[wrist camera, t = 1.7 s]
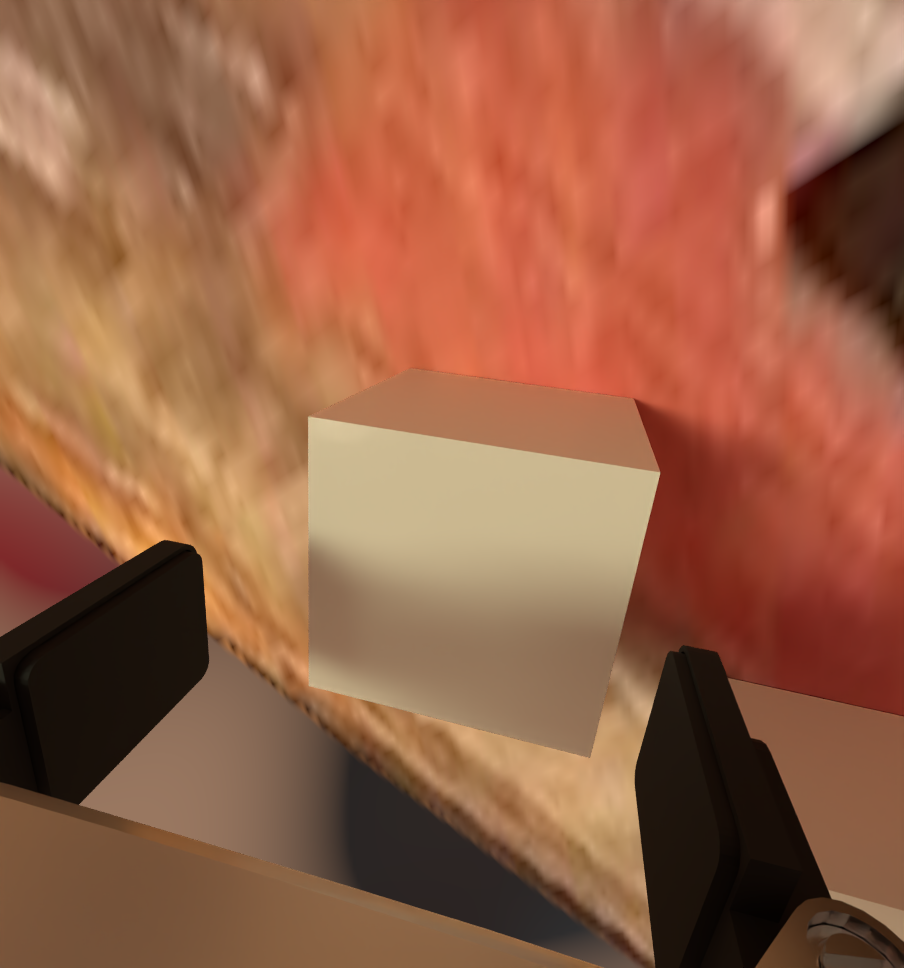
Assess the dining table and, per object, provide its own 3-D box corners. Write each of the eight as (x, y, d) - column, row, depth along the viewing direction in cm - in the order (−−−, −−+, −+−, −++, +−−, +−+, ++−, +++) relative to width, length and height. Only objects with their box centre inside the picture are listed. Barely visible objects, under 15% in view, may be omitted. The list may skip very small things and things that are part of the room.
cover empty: (925, 721, 18) (1114, 969, 11) (848, 867, 20) (967, 1138, 14) (697, 671, 19) (751, 868, 13) (651, 814, 22) (677, 1039, 15)
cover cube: (633, 398, 16) (660, 472, 10) (590, 597, 19) (589, 757, 13) (410, 367, 18) (308, 416, 11) (397, 558, 20) (308, 685, 14)
